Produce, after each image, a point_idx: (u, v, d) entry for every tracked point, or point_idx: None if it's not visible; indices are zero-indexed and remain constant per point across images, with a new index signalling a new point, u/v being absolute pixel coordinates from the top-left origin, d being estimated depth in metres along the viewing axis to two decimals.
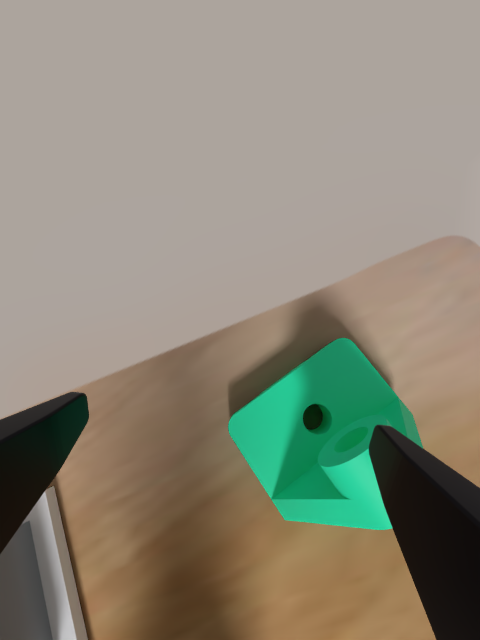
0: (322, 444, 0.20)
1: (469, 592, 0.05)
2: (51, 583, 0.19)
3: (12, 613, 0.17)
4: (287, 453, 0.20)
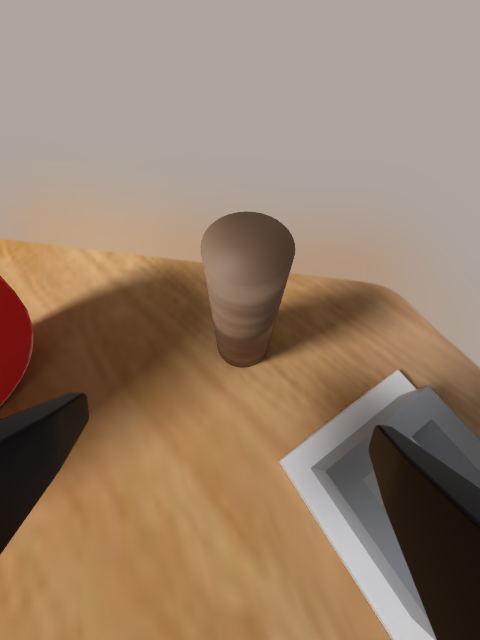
0: None
1: (469, 592, 0.05)
2: None
3: None
4: None
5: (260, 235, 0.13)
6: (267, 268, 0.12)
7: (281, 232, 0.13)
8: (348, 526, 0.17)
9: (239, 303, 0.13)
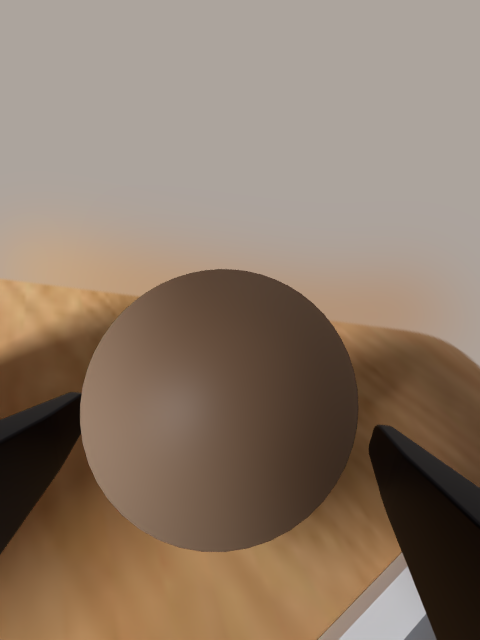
0: None
1: (469, 592, 0.05)
2: None
3: None
4: None
5: (257, 342, 0.05)
6: (278, 471, 0.04)
7: (314, 332, 0.05)
8: None
9: None
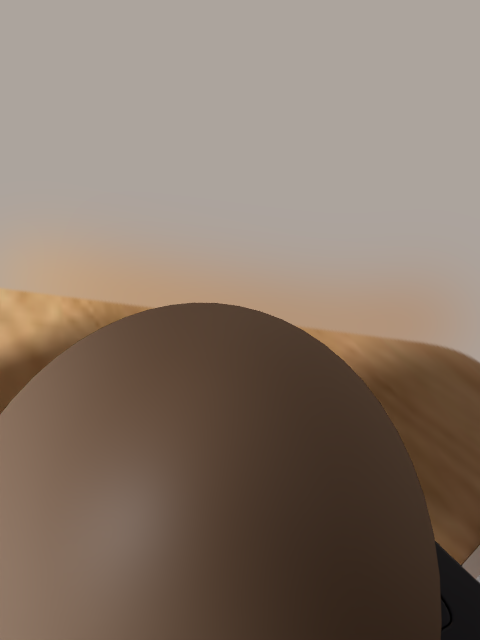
0: None
1: None
2: None
3: None
4: None
5: (253, 437, 0.03)
6: None
7: (349, 415, 0.03)
8: None
9: None
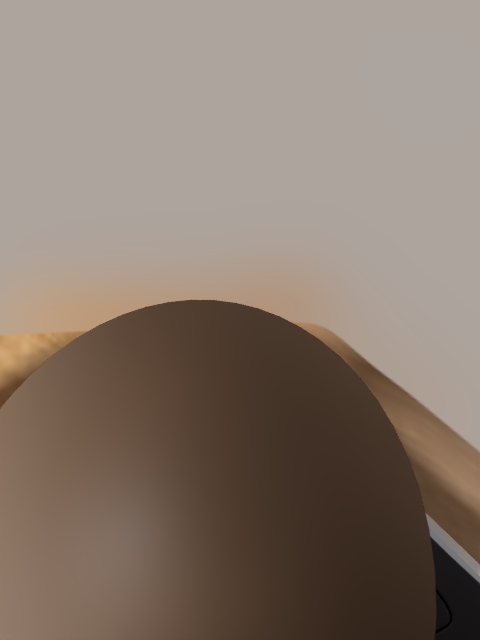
0: None
1: None
2: None
3: None
4: None
5: (250, 432, 0.03)
6: None
7: (346, 411, 0.03)
8: None
9: None
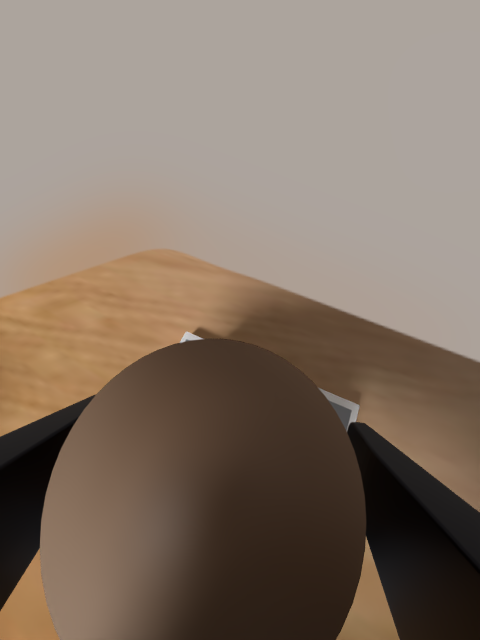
0: None
1: (425, 587, 0.05)
2: None
3: None
4: None
5: (249, 435, 0.04)
6: (272, 612, 0.03)
7: (314, 420, 0.04)
8: None
9: None
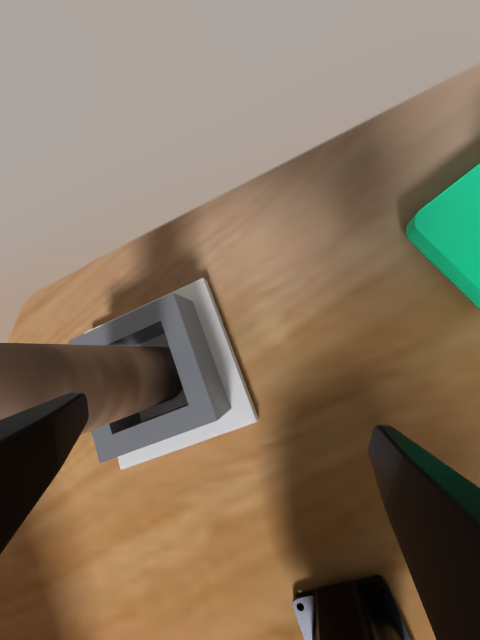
0: None
1: (469, 592, 0.05)
2: (218, 349, 0.21)
3: (198, 349, 0.19)
4: None
5: None
6: None
7: (6, 355, 0.10)
8: None
9: None
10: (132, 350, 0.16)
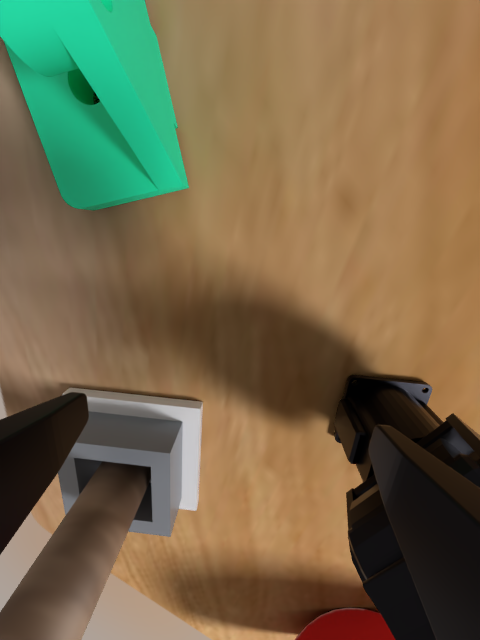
0: None
1: (469, 592, 0.05)
2: (130, 409, 0.23)
3: (114, 436, 0.21)
4: (117, 145, 0.16)
5: None
6: None
7: None
8: (182, 467, 0.25)
9: (84, 615, 0.14)
10: (79, 499, 0.19)
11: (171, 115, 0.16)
